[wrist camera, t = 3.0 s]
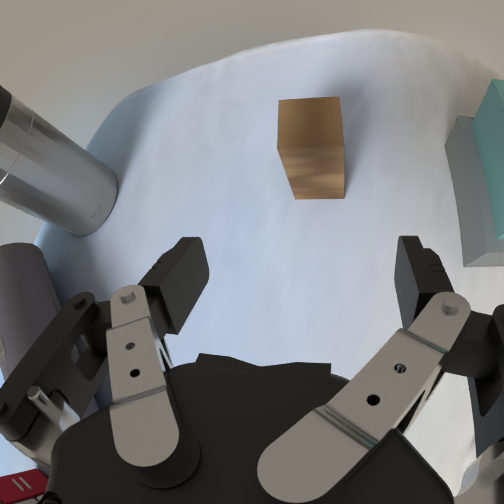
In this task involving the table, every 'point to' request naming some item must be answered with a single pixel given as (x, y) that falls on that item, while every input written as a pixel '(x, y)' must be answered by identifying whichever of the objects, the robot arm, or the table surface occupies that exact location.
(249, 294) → the table surface
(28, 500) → the color panel box
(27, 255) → the bluetooth speaker
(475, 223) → the tower base
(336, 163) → the walnut brick
